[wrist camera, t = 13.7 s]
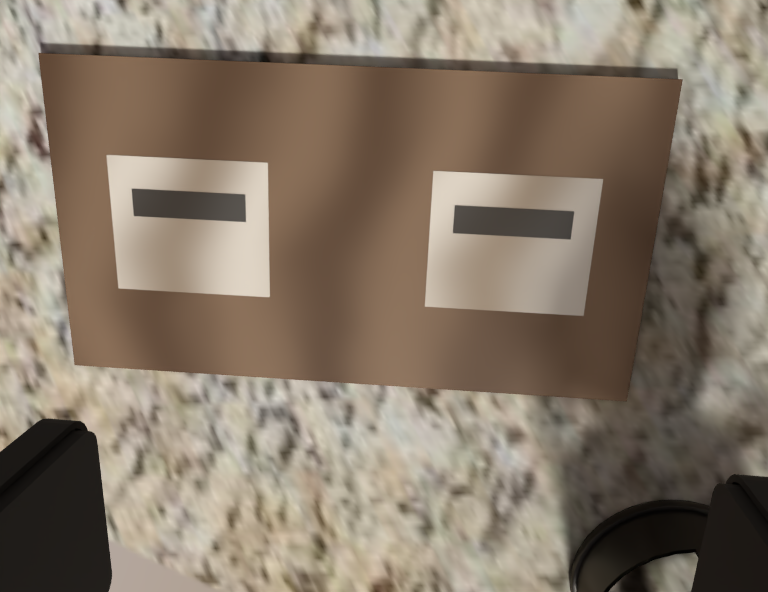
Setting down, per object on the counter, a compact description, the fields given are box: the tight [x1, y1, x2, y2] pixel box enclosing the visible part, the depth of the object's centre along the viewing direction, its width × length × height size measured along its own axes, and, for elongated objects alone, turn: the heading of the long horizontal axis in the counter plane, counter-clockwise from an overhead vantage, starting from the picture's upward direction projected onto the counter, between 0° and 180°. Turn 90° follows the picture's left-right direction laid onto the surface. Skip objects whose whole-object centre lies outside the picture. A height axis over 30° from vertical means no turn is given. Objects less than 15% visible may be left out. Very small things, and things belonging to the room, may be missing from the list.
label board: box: [39, 53, 683, 401], centre depth 28 cm, size 26×14×1 cm, turn 88°
